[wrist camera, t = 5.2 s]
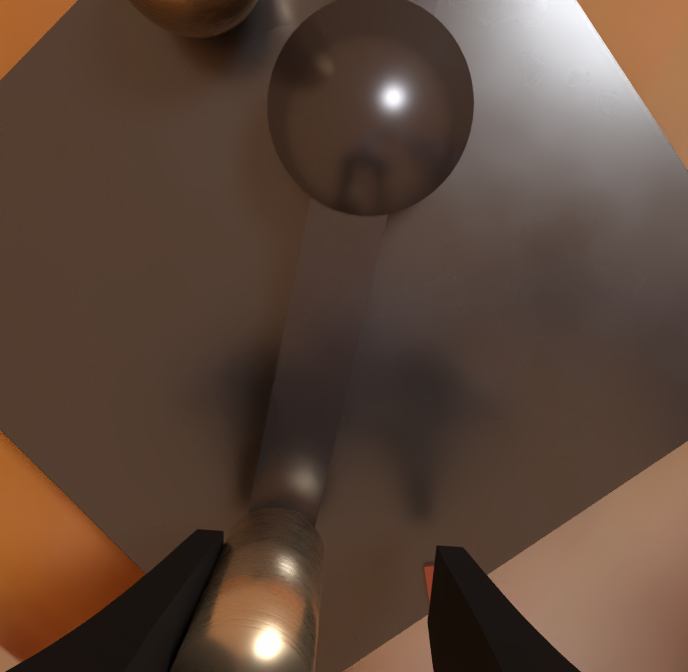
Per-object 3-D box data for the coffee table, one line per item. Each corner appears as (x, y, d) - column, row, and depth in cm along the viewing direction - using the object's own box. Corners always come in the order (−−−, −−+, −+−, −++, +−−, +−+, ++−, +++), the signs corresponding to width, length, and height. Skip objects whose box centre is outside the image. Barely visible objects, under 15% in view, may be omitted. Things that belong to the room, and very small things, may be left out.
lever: (323, -169, 9) (296, -515, 5) (526, -118, 9) (673, -415, 5) (194, 556, 13) (111, 726, 8) (346, 588, 13) (342, 771, 8)
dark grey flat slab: (769, 347, 13) (958, 400, 9) (289, 675, 16) (266, 831, 12) (373, -248, 11) (384, -549, 7) (-125, 256, 13) (-344, 267, 9)
